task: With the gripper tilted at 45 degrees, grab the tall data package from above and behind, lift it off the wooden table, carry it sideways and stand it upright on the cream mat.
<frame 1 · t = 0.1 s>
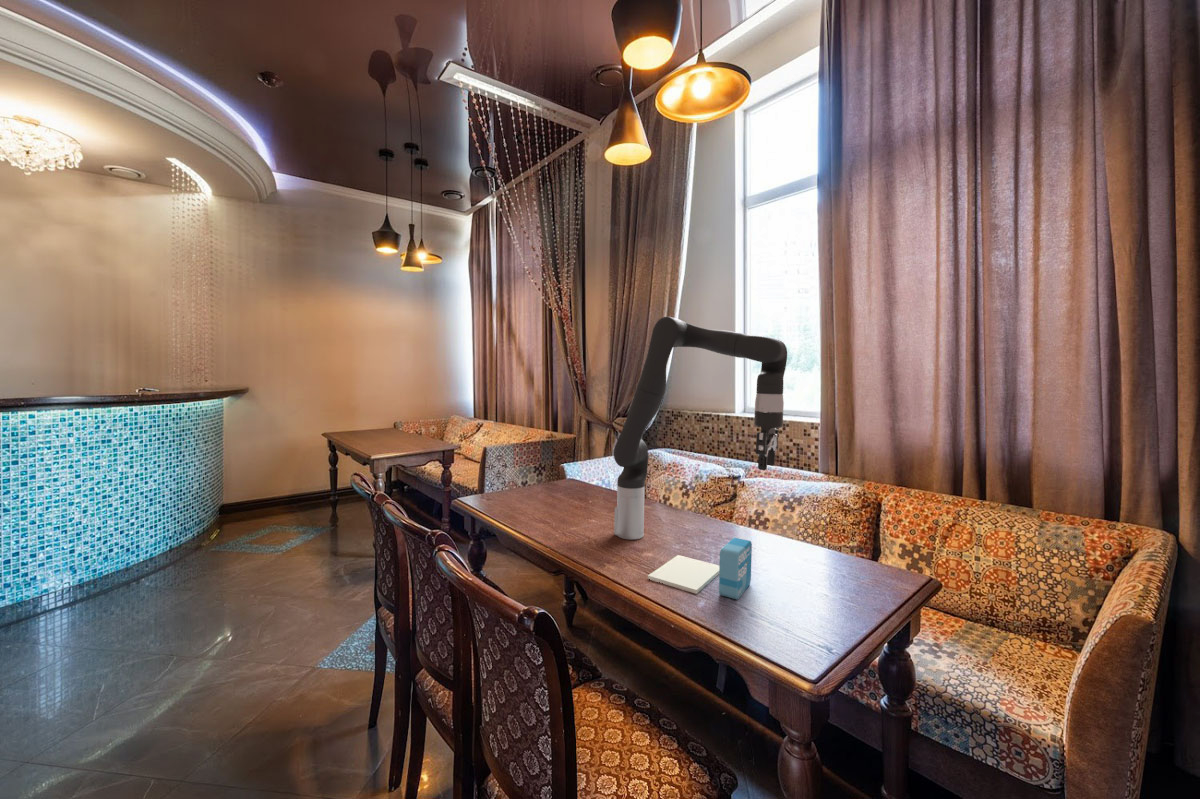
hand: (766, 467, 131), 29 cm above the table, tool pointing down, fingers open, 8 cm apart
cream mat: (686, 574, 128), on the table
data package: (735, 591, 119), on the table
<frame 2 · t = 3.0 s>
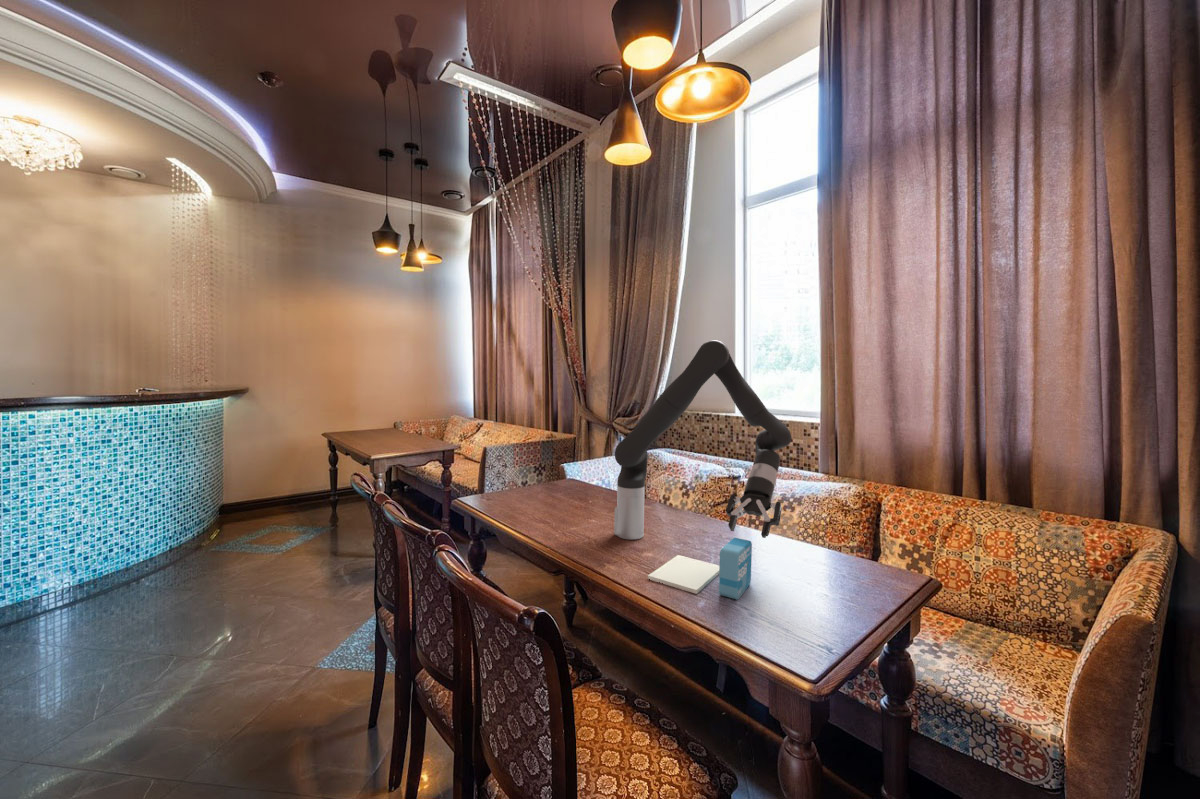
hand: (747, 533, 124), 13 cm above the table, tool tilted 45°, fingers open, 8 cm apart
nothing on the table moved.
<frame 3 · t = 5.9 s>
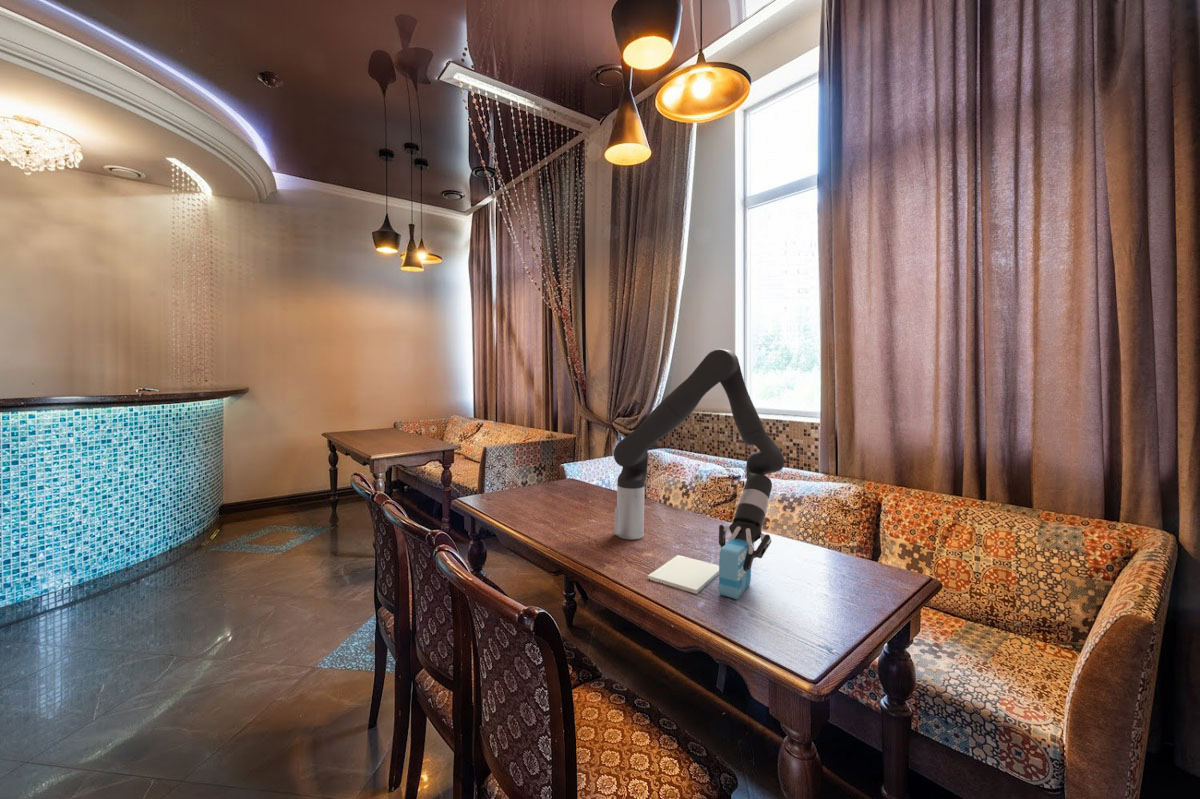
hand: (735, 566, 118), 6 cm above the table, tool tilted 45°, fingers closed on data package, 4 cm apart
data package: (734, 590, 119), on the table, touching gripper
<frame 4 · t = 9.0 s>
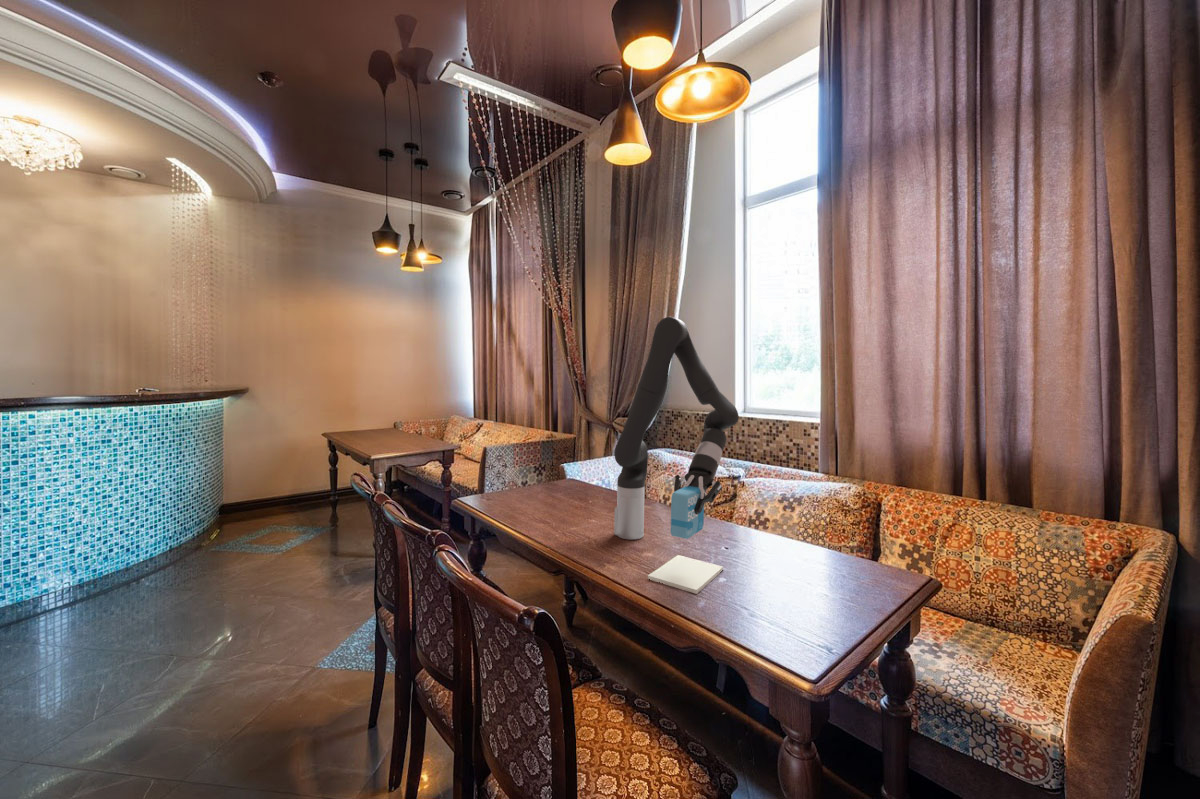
hand: (687, 510, 126), 18 cm above the table, tool tilted 45°, fingers closed on data package, 4 cm apart
data package: (687, 533, 127), point 11 cm above the table, touching gripper
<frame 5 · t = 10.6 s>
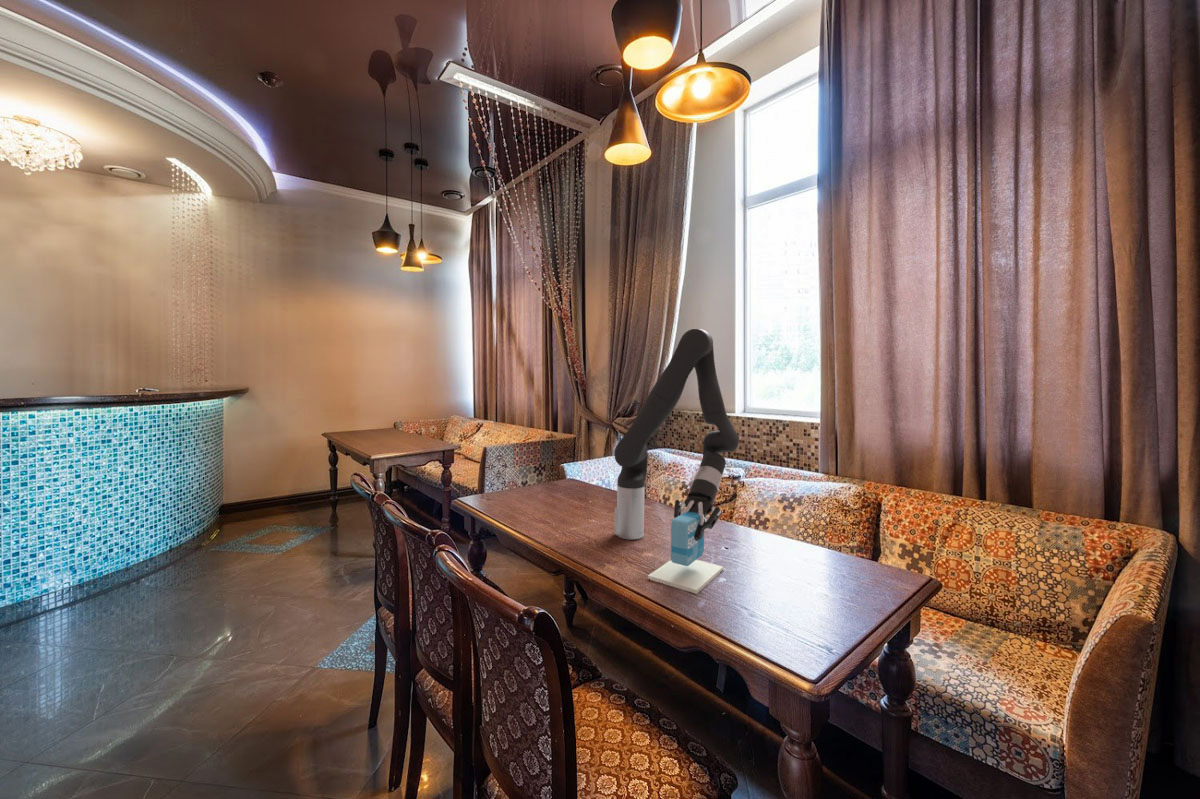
hand: (687, 537, 127), 11 cm above the table, tool tilted 45°, fingers closed on data package, 4 cm apart
data package: (687, 559, 127), point 4 cm above the table, touching gripper
when the fingers open (8 cm above the table, at t = 12.0 s): data package drops 1 cm, resting on cream mat.
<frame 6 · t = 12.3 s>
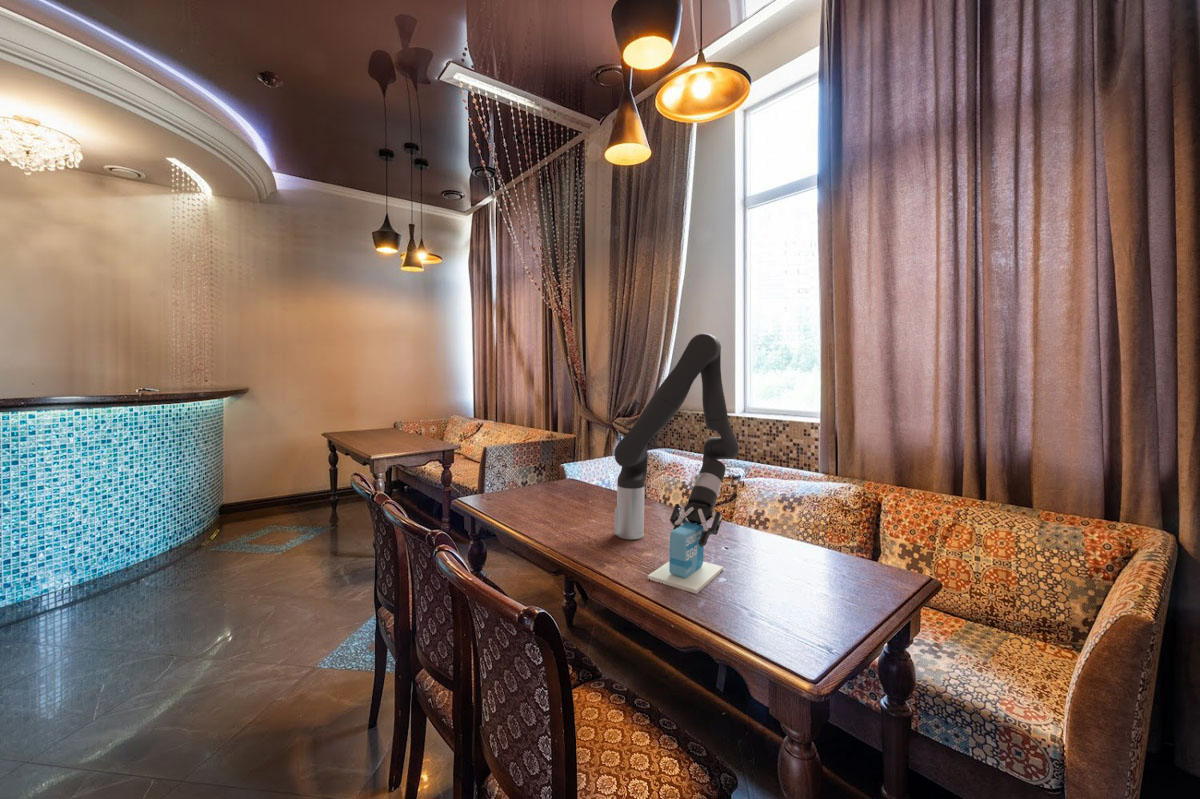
hand: (687, 542, 127), 9 cm above the table, tool tilted 45°, fingers open, 7 cm apart
data package: (686, 571, 128), point 1 cm above the table, touching cream mat
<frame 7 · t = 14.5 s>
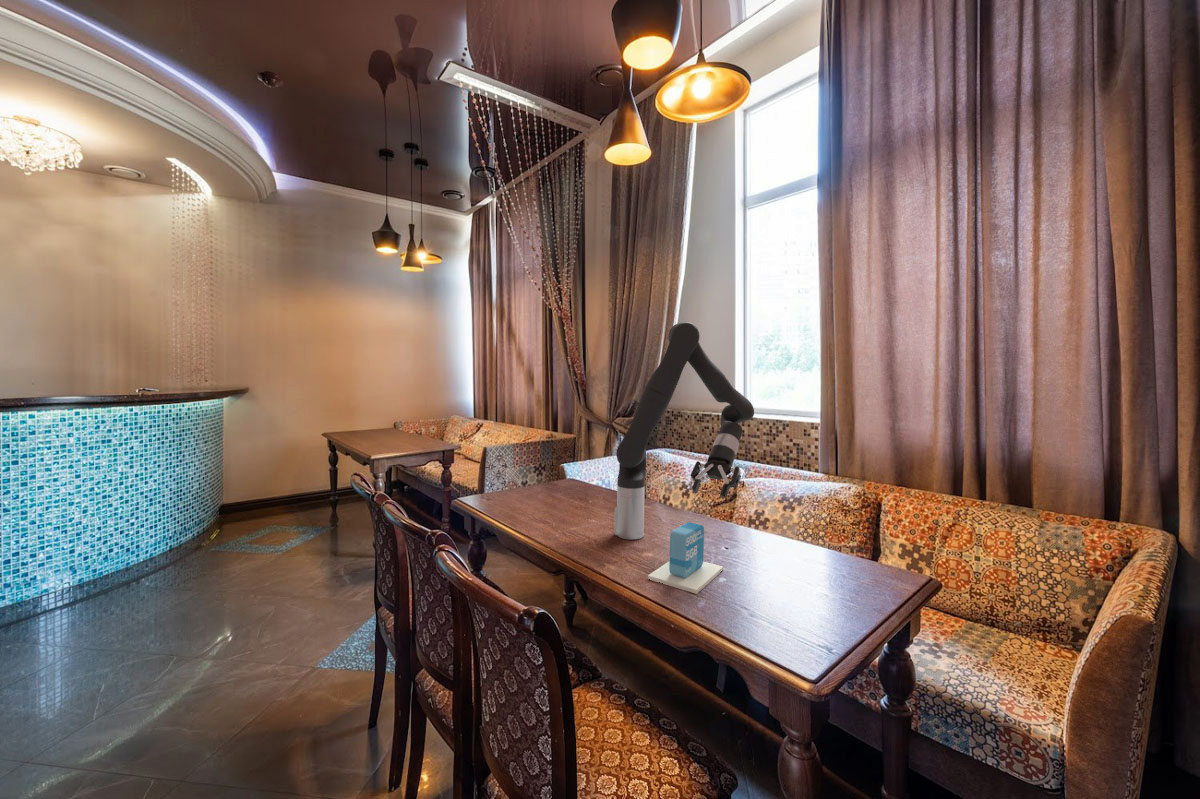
hand: (708, 494, 137), 20 cm above the table, tool tilted 45°, fingers open, 8 cm apart
nothing on the table moved.
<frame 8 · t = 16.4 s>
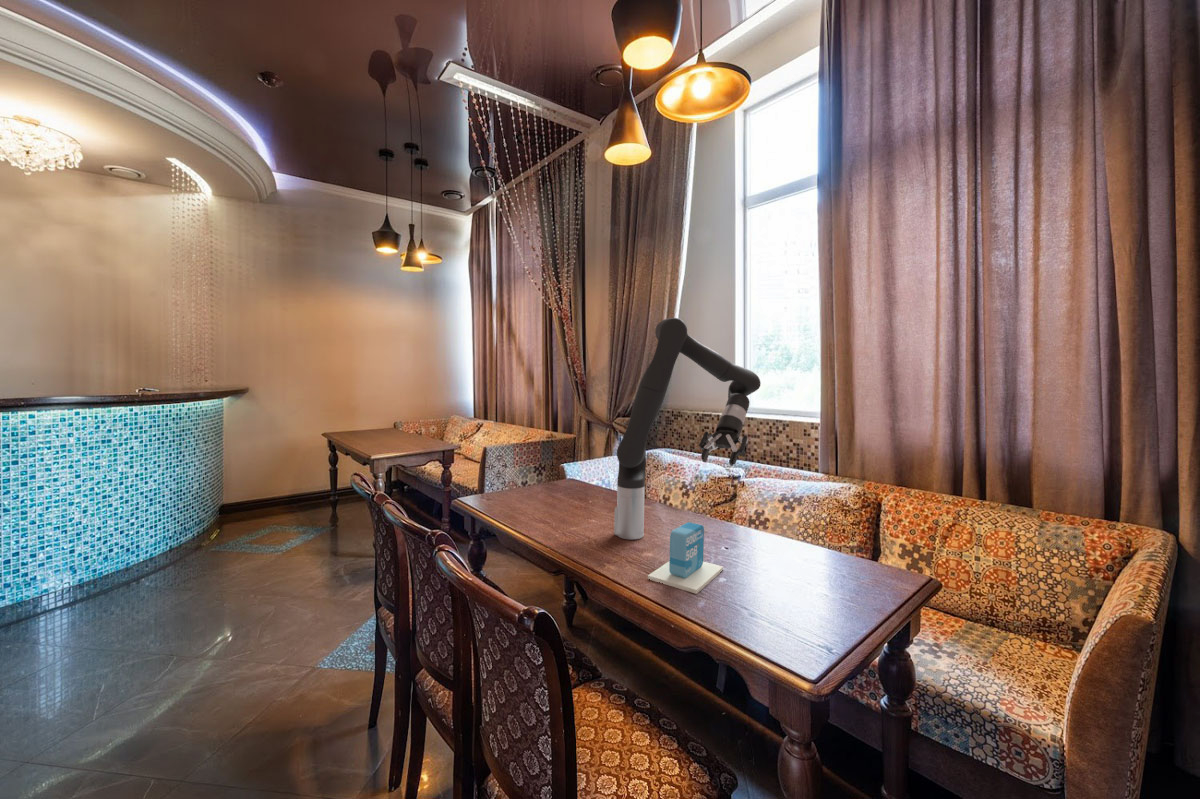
hand: (717, 462, 140), 29 cm above the table, tool tilted 45°, fingers open, 8 cm apart
nothing on the table moved.
at the end: data package inside the target area on the cream mat (0.3 cm from its centre), point 0.8 cm above the cream mat's base; data package tilted 0°; the gripper is holding nothing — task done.
